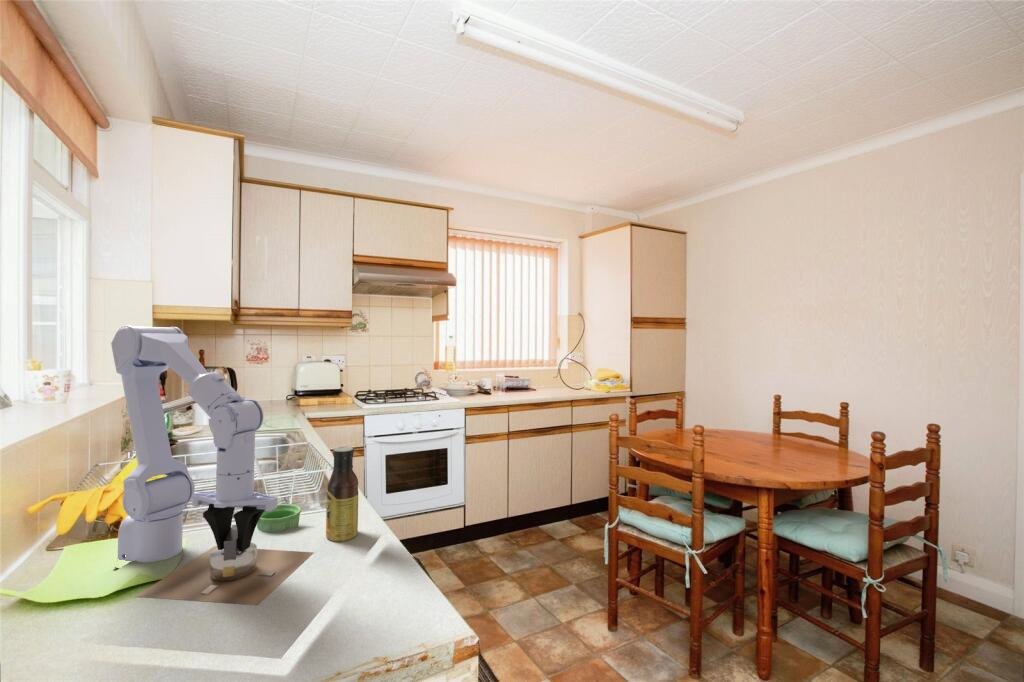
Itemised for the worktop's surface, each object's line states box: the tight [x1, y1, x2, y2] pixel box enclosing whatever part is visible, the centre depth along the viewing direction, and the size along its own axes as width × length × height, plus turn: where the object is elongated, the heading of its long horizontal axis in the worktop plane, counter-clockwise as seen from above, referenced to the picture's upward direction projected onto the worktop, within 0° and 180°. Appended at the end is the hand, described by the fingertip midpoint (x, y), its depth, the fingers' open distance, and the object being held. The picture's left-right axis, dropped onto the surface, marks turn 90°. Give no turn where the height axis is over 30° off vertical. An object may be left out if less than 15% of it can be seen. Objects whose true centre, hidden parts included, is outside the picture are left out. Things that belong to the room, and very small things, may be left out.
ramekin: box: [256, 503, 302, 533], centre depth 105 cm, size 9×9×4 cm
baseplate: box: [135, 545, 315, 606], centre depth 84 cm, size 20×18×2 cm
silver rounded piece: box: [210, 524, 258, 581], centre depth 83 cm, size 8×7×7 cm
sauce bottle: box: [325, 445, 359, 543], centre depth 100 cm, size 7×6×20 cm
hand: (233, 548), depth 83 cm, fingers closed on silver rounded piece, 3 cm apart
